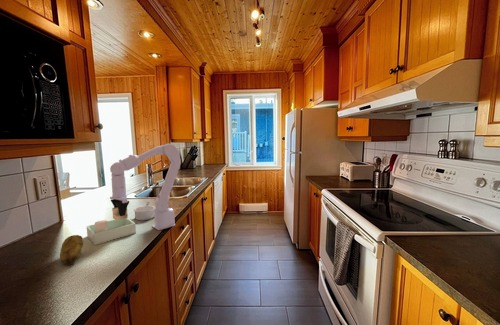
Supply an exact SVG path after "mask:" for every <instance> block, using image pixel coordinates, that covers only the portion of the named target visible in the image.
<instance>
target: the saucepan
mask: <svg viewBox="0 0 500 325" xmlns="http://www.w3.org/2000/svg"><path fill="white" fill-rule="evenodd" d="M155 209H156V207H155V205H150V201H147V203H146V205H142V206H138V207H135V208H134V209H133V211H134V218H135V219H136V220H138V221H147V220H151V219H153V218H155V214H154V210H155Z"/></svg>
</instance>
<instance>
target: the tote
mask: <svg viewBox="0 0 500 325" xmlns="http://www.w3.org/2000/svg"><path fill="white" fill-rule="evenodd" d="M107 223H108V230H107V231H103V232H99V233H95V223H94V224H90V225H86V235H87V236H86V237H88V239H89V240H90V242H91V243H92V244H93V246H97V245H101V244H105V243H108V242H111V241H114V240H113V239H115V240H117V238H118V239H121V238H124V236H125V237H127V236H131V235H134V234H136V232H137V231H136V223H135V222H134V221H133V220H131V219H130V218H129V217H128V218H125V219H121V220H117V221H116V220H115V219H112V220H107ZM120 237H121V238H120ZM110 240H111V241H110ZM107 241H108V242H107Z"/></svg>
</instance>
